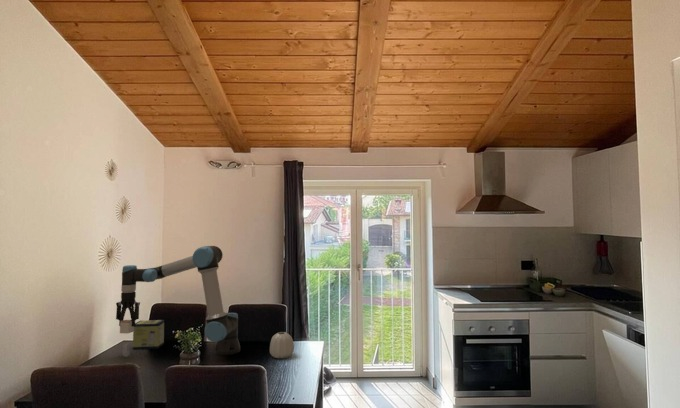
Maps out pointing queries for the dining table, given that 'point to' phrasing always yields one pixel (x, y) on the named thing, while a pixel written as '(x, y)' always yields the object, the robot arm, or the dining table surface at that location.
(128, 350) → the post
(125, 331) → the beige faceted cup
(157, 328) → the protein box
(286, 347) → the vase
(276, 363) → the dining table surface
